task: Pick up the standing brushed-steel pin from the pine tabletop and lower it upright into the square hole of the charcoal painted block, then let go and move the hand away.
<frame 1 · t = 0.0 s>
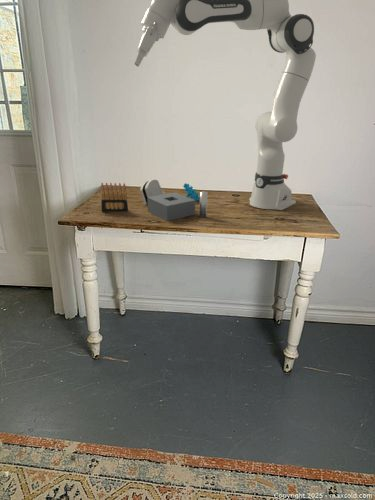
hand: (136, 64, 125), 54 cm above the table, tool tilted 30°, fingers open, 8 cm apart
hinge: (153, 200, 160), on the table
pin block: (171, 212, 143), on the table
gear: (191, 200, 161), on the table
ammunition clip: (115, 211, 144), on the table
steel pin: (202, 216, 140), on the table
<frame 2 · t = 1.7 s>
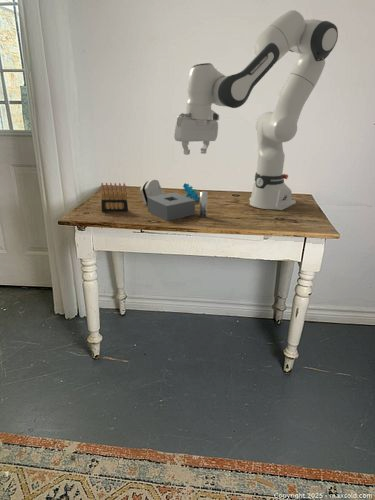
hand: (195, 153, 128), 25 cm above the table, tool pointing down, fingers open, 8 cm apart
nothing on the table moved.
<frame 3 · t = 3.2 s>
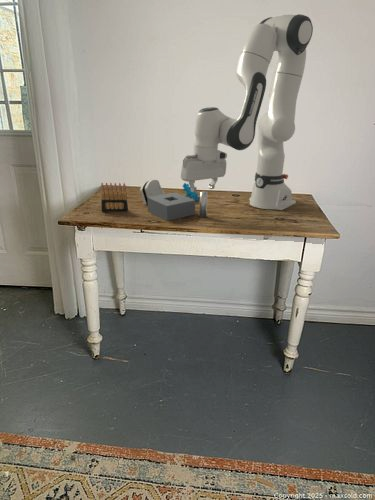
hand: (202, 190, 135), 11 cm above the table, tool pointing down, fingers open, 8 cm apart
nothing on the table moved.
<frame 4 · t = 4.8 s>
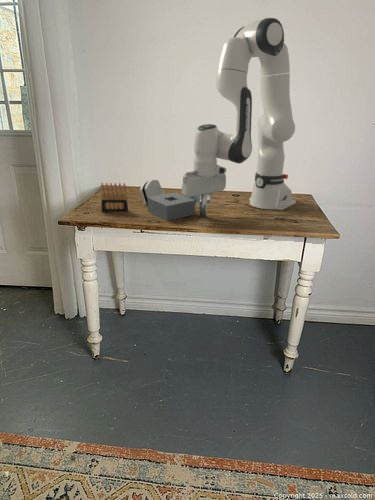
hand: (203, 204, 138), 5 cm above the table, tool pointing down, fingers closed on steel pin, 3 cm apart
steel pin: (202, 216, 140), on the table, touching gripper
everything else where it was.
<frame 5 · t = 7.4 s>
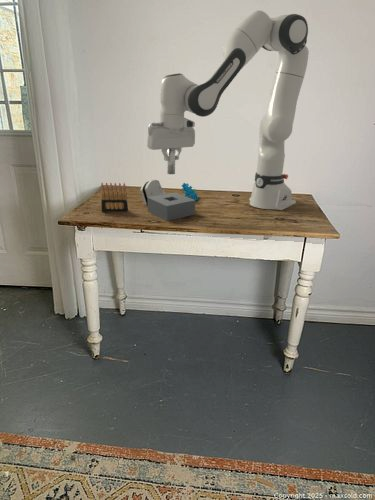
hand: (171, 160, 134), 22 cm above the table, tool pointing down, fingers closed on steel pin, 3 cm apart
steel pin: (171, 173, 136), point 16 cm above the table, touching gripper
everything else where it was.
when the fingers open (7 cm above the table, at t = 10.2 s): steel pin stays where it is, resting on pin block.
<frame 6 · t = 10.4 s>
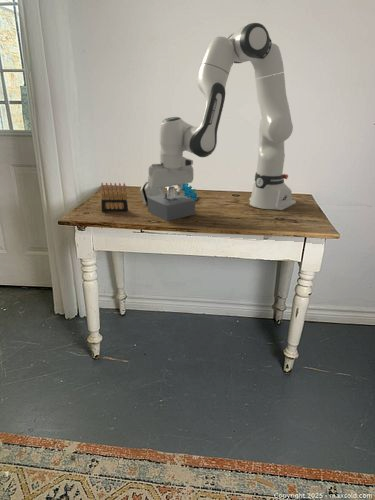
hand: (171, 196, 140), 7 cm above the table, tool pointing down, fingers open, 5 cm apart
steel pin: (171, 210, 143), point 1 cm above the table, touching pin block
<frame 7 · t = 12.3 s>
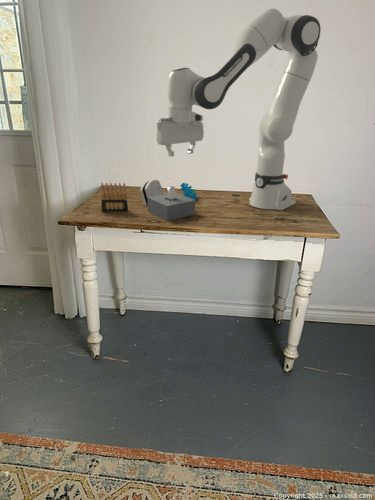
hand: (181, 154, 134), 23 cm above the table, tool pointing down, fingers open, 8 cm apart
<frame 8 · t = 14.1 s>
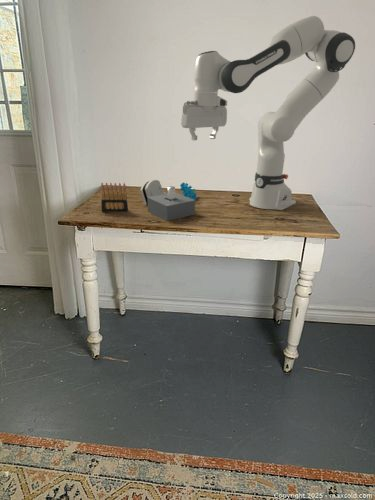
hand: (203, 139, 134), 29 cm above the table, tool pointing down, fingers open, 8 cm apart
at the end: steel pin 0.1 cm off-centre on the pin block, point 0.8 cm above the pin block's base; steel pin tilted 0°; the gripper is holding nothing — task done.
